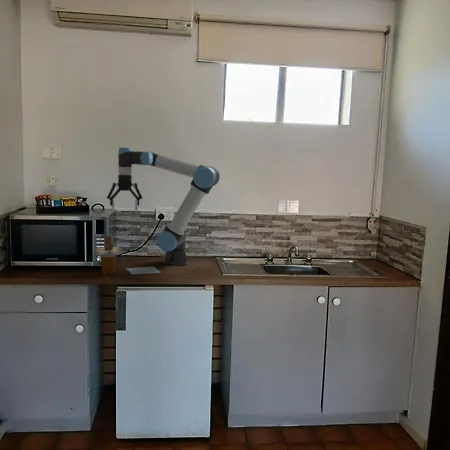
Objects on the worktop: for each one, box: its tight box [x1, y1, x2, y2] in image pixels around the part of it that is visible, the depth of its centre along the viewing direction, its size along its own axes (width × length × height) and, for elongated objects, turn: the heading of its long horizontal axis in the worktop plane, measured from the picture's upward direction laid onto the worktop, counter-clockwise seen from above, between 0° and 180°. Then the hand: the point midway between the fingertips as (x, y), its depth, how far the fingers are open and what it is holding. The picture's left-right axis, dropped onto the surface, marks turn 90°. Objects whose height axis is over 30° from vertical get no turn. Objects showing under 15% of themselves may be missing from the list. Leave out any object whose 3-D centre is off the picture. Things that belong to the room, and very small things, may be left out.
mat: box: [125, 266, 162, 275], centre depth 262 cm, size 16×15×1 cm
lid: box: [94, 235, 124, 256], centre depth 253 cm, size 13×13×8 cm
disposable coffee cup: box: [99, 254, 118, 275], centre depth 254 cm, size 10×10×12 cm
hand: (124, 211), depth 273 cm, fingers open, 13 cm apart
